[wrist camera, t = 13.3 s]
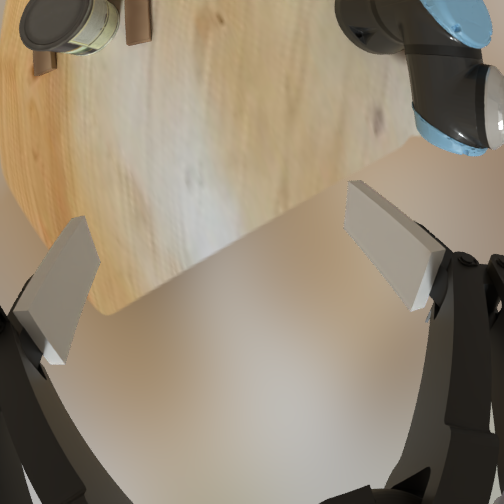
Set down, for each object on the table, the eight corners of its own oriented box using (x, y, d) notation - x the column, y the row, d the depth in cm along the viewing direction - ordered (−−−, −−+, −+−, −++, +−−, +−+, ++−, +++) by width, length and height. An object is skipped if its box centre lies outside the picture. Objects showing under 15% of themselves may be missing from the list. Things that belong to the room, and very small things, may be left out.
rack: (148, -39, 24) (145, -47, 21) (151, 41, 33) (147, 37, 30) (38, -2, 22) (28, -5, 19) (40, 75, 31) (29, 76, 28)
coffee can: (73, 68, 32) (30, 67, 21) (55, 23, 27) (11, 11, 15) (129, 35, 32) (101, 17, 20) (109, -11, 26) (79, -38, 14)
